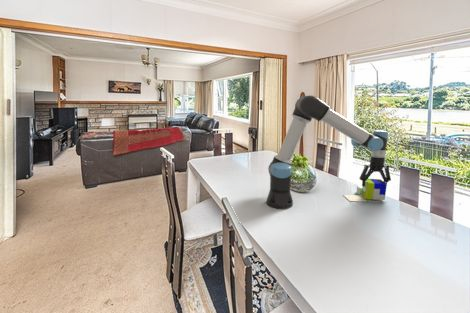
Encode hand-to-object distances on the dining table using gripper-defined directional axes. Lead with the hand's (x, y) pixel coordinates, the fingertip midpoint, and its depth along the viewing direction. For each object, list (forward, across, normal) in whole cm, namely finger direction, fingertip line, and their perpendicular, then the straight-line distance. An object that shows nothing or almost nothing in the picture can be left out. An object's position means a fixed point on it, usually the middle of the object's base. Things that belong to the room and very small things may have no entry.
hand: (373, 191), depth 156 cm
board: (+5, -5, 0) cm, 7 cm away
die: (+5, -2, +10) cm, 11 cm away
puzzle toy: (+4, 0, 0) cm, 4 cm away
